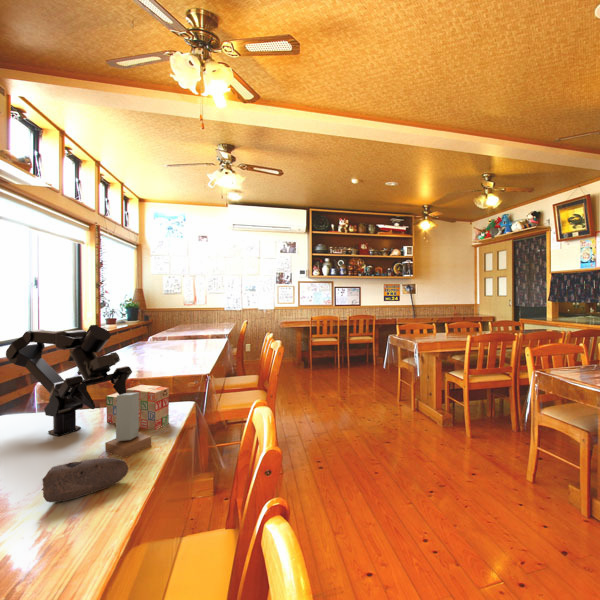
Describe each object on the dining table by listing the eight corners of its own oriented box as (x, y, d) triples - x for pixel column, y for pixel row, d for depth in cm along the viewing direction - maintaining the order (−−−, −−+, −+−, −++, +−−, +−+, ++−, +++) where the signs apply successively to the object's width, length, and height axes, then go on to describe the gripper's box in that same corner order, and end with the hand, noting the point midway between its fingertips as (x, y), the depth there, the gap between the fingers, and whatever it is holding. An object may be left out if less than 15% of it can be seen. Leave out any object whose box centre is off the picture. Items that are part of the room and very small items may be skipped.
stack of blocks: (105, 423, 104) (105, 387, 104) (121, 416, 110) (121, 382, 110) (155, 430, 97) (154, 392, 98) (169, 423, 103) (169, 386, 103)
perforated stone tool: (128, 475, 72) (127, 446, 72) (129, 487, 67) (128, 455, 67) (45, 497, 64) (45, 464, 64) (40, 512, 59) (40, 476, 59)
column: (116, 441, 83) (116, 395, 85) (124, 436, 87) (125, 393, 89) (130, 440, 83) (131, 394, 85) (138, 435, 87) (138, 392, 89)
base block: (105, 453, 83) (105, 442, 83) (132, 441, 91) (132, 431, 91) (123, 460, 80) (123, 448, 80) (150, 446, 87) (150, 436, 87)
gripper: (64, 349, 83) (88, 395, 78) (128, 341, 100) (151, 378, 95) (48, 375, 87) (70, 420, 82) (113, 363, 103) (135, 400, 99)
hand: (110, 403), depth 89 cm, fingers open, 9 cm apart
